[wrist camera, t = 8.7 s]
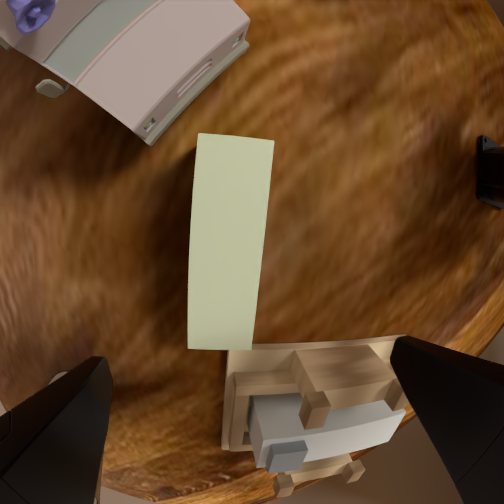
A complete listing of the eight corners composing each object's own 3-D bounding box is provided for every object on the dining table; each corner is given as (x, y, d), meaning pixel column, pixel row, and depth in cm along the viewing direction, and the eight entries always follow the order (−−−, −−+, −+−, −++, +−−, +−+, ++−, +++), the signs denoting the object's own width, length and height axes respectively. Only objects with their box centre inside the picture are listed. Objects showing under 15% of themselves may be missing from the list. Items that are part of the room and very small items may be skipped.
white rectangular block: (379, 378, 23) (411, 419, 17) (366, 408, 24) (393, 448, 18) (251, 392, 20) (266, 451, 15) (247, 423, 21) (258, 477, 16)
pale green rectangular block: (257, 148, 17) (274, 140, 13) (241, 313, 20) (251, 350, 15) (200, 143, 16) (198, 133, 12) (190, 311, 19) (187, 348, 15)
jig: (404, 334, 23) (451, 375, 16) (364, 426, 26) (391, 468, 19) (228, 343, 20) (240, 413, 13) (220, 444, 23) (228, 501, 16)
